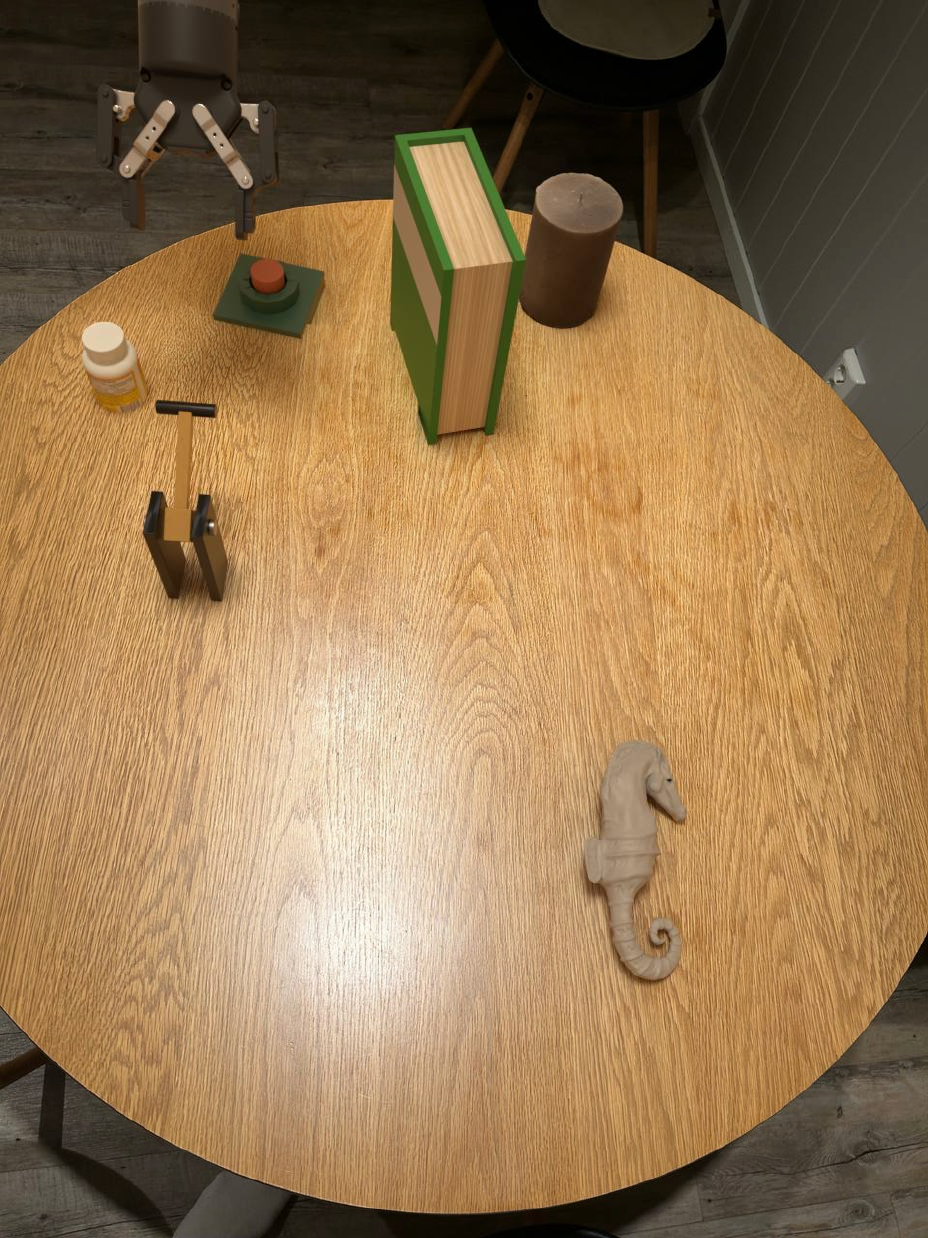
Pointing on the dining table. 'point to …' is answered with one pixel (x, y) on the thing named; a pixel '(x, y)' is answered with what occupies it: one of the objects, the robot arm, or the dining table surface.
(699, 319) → the dining table surface
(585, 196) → the pillar candle
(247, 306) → the button box
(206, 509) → the bracket
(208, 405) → the latch
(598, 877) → the seahorse
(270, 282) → the button
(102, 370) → the supplement bottle
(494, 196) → the hardback book
